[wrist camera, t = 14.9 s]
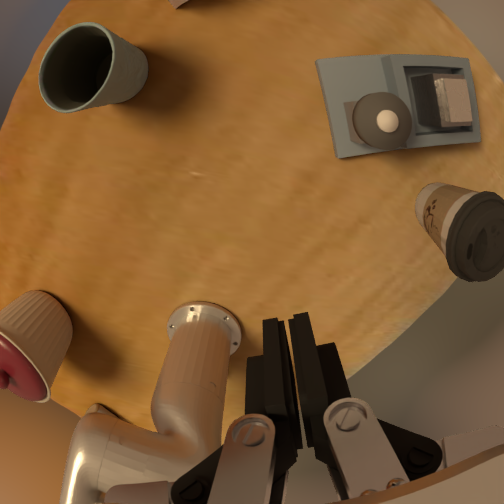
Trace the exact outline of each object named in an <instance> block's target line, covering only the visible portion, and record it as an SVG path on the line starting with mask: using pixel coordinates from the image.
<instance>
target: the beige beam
mask: <svg viewBox="0 0 504 504" xmlns="http://www.w3.org/2000/svg"><path fill="white" fill-rule="evenodd" d="M168 1H169V2H170V3H171V4H172V5H173V7H174V8H175V9H176V8H178V6H180V5H181V4H183V3H185V2H186V1H188V0H168Z"/></svg>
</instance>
